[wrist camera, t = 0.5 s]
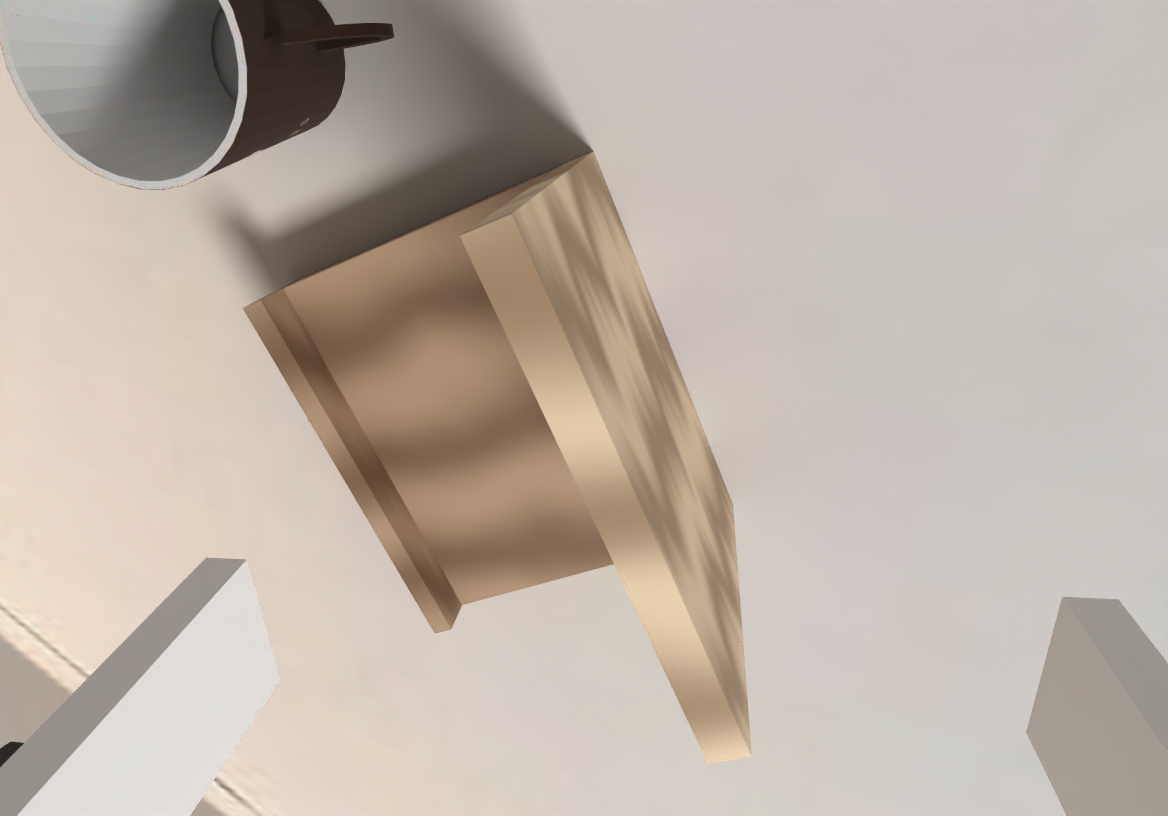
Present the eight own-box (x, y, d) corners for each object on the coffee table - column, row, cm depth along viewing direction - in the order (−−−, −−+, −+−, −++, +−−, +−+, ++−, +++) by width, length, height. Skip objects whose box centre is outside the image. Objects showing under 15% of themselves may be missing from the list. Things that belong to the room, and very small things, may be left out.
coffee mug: (174, 118, 35) (-6, 135, 26) (197, -88, 32) (-4, -151, 23) (407, 210, 36) (308, 258, 27) (456, 17, 32) (360, -4, 23)
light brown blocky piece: (291, 282, 38) (40, 414, 23) (593, 151, 33) (511, 213, 19) (459, 581, 44) (341, 831, 30) (732, 505, 40) (751, 756, 25)
